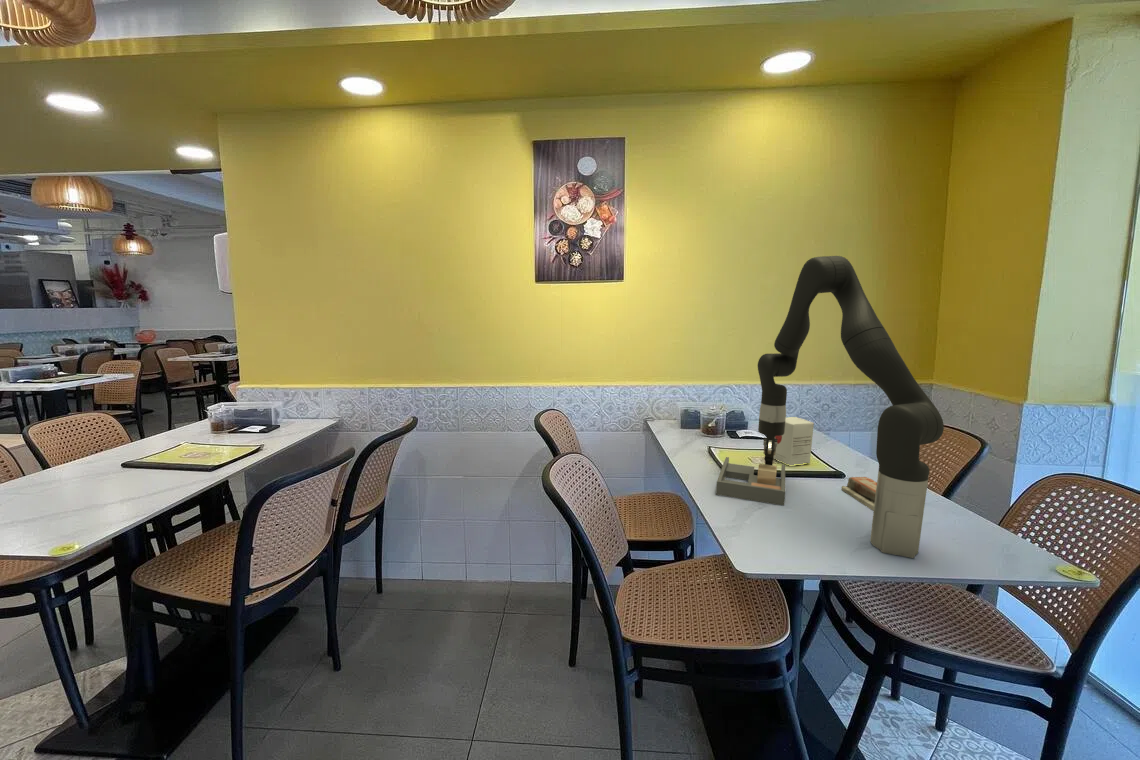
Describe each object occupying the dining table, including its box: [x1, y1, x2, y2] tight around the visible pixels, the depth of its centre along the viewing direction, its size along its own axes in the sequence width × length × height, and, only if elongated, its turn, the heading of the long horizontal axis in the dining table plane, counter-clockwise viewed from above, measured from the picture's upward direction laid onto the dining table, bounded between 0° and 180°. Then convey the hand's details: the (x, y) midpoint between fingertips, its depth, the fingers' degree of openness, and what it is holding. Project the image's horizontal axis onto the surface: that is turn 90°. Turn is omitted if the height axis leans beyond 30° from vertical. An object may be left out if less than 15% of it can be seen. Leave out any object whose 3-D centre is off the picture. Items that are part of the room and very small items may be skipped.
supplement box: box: [773, 416, 815, 465], centre depth 168 cm, size 9×9×15 cm
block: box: [757, 463, 778, 485], centre depth 146 cm, size 6×5×4 cm
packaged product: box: [841, 476, 877, 512], centre depth 136 cm, size 18×5×10 cm
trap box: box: [715, 456, 786, 506], centre depth 147 cm, size 24×18×4 cm
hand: (768, 472), depth 152 cm, fingers closed
